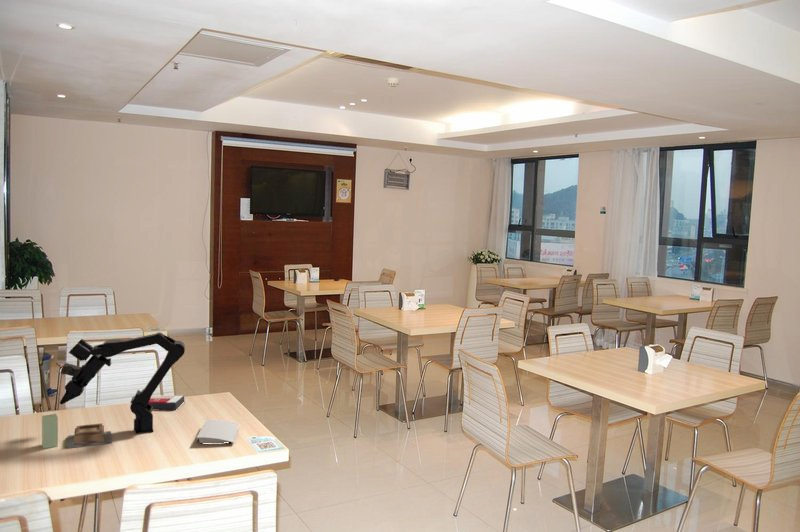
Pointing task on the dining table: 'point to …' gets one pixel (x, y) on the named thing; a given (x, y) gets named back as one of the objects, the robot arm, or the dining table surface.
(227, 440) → the book
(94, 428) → the base socket
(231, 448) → the dining table surface
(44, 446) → the pillar
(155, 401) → the grey and red box
